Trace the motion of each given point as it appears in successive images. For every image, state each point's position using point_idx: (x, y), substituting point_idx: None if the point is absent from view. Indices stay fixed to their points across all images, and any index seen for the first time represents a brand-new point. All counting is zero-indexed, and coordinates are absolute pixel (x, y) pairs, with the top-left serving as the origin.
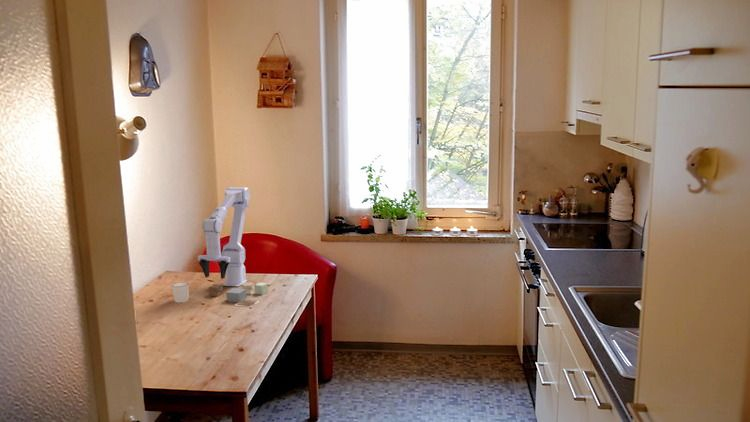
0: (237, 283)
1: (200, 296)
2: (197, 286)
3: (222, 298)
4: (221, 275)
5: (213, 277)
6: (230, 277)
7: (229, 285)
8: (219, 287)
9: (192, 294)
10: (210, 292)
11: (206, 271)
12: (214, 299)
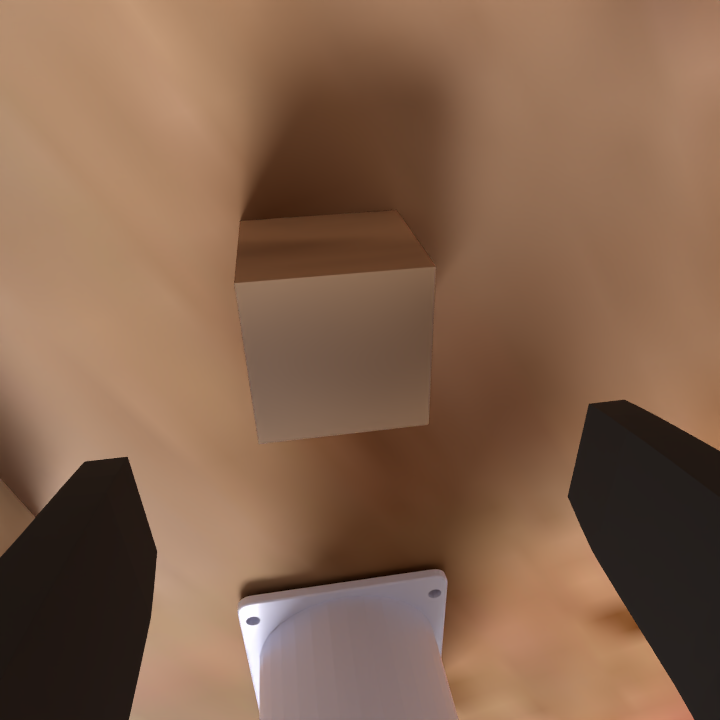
0: (273, 641)
1: (524, 116)
2: None
3: (71, 133)
4: (60, 523)
5: (639, 677)
6: (351, 690)
7: (351, 585)
8: (244, 342)
9: (690, 172)
10: (389, 228)
11: (694, 545)
12: (173, 24)
